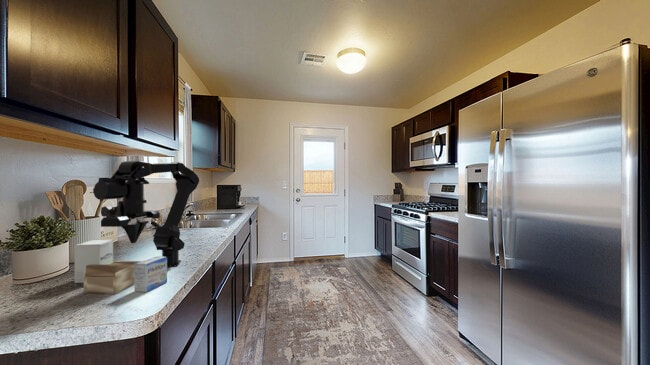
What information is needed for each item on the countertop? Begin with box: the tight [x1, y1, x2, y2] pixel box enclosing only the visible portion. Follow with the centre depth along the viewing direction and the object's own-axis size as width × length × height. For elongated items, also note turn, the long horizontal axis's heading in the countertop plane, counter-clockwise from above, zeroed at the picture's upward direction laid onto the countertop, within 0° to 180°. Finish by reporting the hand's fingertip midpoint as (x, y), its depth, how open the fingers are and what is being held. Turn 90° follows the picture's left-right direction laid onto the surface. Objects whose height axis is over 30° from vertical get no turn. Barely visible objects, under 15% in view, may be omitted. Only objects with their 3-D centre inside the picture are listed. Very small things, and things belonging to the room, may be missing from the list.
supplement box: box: [74, 239, 114, 284], centre depth 86 cm, size 7×7×13 cm
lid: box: [86, 263, 136, 276], centre depth 79 cm, size 10×9×3 cm
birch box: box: [83, 260, 143, 295], centre depth 80 cm, size 11×10×6 cm
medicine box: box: [134, 255, 168, 293], centre depth 79 cm, size 8×4×9 cm, turn 168°
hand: (133, 243), depth 85 cm, fingers closed
